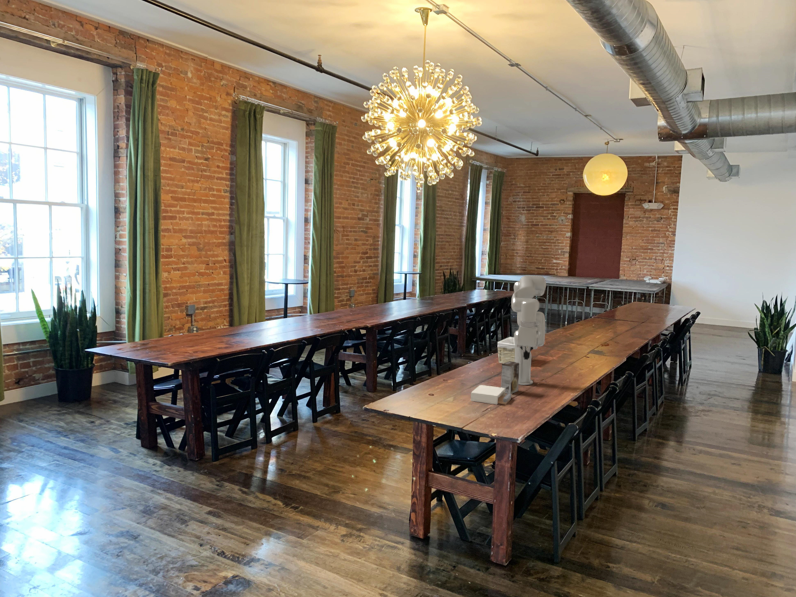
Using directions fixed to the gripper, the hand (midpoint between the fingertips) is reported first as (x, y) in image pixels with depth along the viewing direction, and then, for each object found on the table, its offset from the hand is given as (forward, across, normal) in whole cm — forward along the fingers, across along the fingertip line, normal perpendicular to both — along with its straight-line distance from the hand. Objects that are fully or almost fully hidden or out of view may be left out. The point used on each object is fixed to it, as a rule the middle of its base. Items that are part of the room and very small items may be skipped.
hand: (526, 359), depth 302 cm
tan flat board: (+23, +16, +5) cm, 28 cm away
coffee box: (+23, +12, -15) cm, 30 cm away
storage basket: (+25, +28, -92) cm, 100 cm away
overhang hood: (+23, +18, +4) cm, 30 cm away
